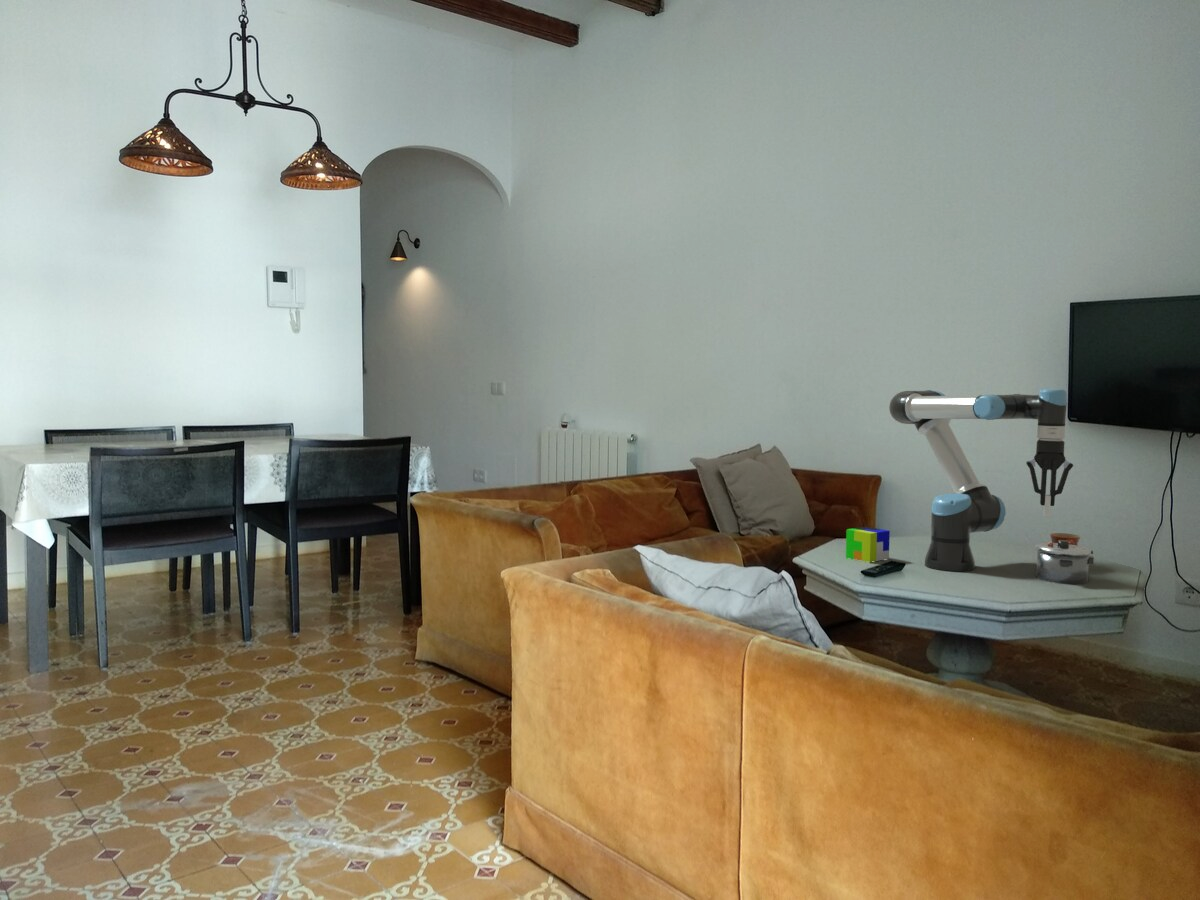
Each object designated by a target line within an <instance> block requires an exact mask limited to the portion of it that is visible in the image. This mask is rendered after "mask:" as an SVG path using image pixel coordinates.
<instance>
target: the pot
mask: <svg viewBox="0 0 1200 900" xmlns="http://www.w3.org/2000/svg"><path fill="white" fill-rule="evenodd" d="M1094 560H1095V559H1094V556H1093V555H1087V556H1068V555H1058V554H1051V553H1046V552H1042V551H1039V550H1037V552H1036V570H1035V571H1036V574H1035V575H1036V576H1035V577H1036V578H1037V579H1038V578H1039V580H1041V581H1044V580H1045V581H1044V582H1048V581H1049V583H1054V582H1055V583H1054V584H1062V585H1063V584H1067V585H1081V584H1082V585H1083V584H1087V583H1088V582H1089V565H1094V564H1095V563H1094Z"/></svg>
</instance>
